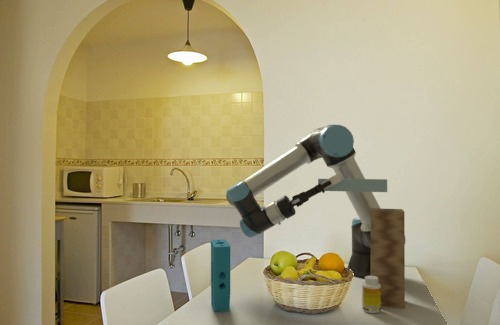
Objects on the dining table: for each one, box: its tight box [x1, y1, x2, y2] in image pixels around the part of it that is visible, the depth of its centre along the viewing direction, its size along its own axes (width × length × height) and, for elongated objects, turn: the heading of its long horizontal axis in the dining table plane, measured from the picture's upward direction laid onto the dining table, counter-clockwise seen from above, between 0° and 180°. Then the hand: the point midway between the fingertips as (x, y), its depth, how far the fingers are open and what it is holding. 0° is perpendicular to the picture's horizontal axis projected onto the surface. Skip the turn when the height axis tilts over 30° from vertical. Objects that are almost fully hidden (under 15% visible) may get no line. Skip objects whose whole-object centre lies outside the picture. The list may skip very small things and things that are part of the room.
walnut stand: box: [371, 208, 406, 309], centre depth 130 cm, size 10×8×30 cm
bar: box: [317, 178, 388, 193], centre depth 133 cm, size 22×4×4 cm, turn 74°
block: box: [210, 239, 231, 313], centre depth 126 cm, size 12×5×20 cm, turn 11°
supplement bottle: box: [361, 276, 382, 314], centre depth 122 cm, size 6×6×10 cm
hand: (340, 176), depth 134 cm, fingers closed on bar, 4 cm apart
